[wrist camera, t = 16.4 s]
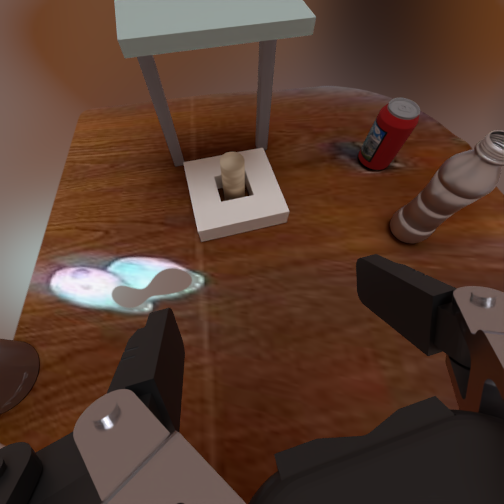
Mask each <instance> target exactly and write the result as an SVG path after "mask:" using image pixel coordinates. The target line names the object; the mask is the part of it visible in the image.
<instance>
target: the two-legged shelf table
mask: <svg viewBox="0 0 504 504" xmlns="http://www.w3.org/2000/svg"><path fill="white" fill-rule="evenodd" d="M114 1H115V13H116V25H117V37H118V42H119V44H120V47H121V50H122V52H123V55H124V57H125V58H131V57H137V58H138V61H139V64H140V67H141V70H142V73H143V76H144V78H145V81H146V84H147V87H148V90H149V93H150V96H151V99H152V101H153V104H154V107H155V110H156V113H157V116H158V119H159V121H160V124H161V127H162V130H163V133H164V136H165V139H166V142H167V144H168V147H169V150H170V153H171V156H172V159H173V162H174V164H175V167H176V166H181V165H184V164H183V162H184V159H183V155H182V152H181V148H180V145H179V142H178V138H177V135H176V132H175V128H174V125H173V121H172V118H171V115H170V111H169V108H168V105H167V101H166V98H165V95H164V91H163V88H162V85H161V81H160V78H159V75H158V71H157V68H156V64H155V61H154V58H153V55H155V54H163V53H171V52H179V51H187V50H195V49H203V48H211V47H219V46H227V45H235V44H243V43H251V42H259V66H258V92H257V119H256V147H257V149H258V148H263V149H264V150H267V141H268V130H269V119H270V108H271V97H272V85H273V74H274V63H275V52H276V51H275V50H276V41H277V39H283V38H291V37H299V36H307V35H313V31H314V25H315V20H316V16H315V15H314V14H313V13H312V11H311V10H310V9H309V8H308V6H307V5H306V4H305V3H304V1H303V0H114Z"/></svg>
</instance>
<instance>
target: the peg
mask: <svg viewBox="0 0 504 504" xmlns="http://www.w3.org/2000/svg"><path fill="white" fill-rule="evenodd" d="M220 168H221V176H222V183H223V191H224V199H225V201H228V200H232V199H237V198H242V197H245V160H244V157H243V156H242V155H241V154H240V153H237V152H227V153H225V154H223V155H222V156H221V158H220Z"/></svg>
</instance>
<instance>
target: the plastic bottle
mask: <svg viewBox="0 0 504 504" xmlns="http://www.w3.org/2000/svg"><path fill="white" fill-rule="evenodd" d="M502 166H504V131H502V130H495V131H491V132H490V133H489V134H487V136H486V137H485V138H484V139H483V140H481V141H479V142H478V143H477V144H476V146H475V148H474V150H470V151H465V152H462V153H459V154H456V155H454V156H452V157H451V158H449V159H447V160H446V161H445V162H444V163H443V164H442V166H441V167H440V168H439V170H438V171H437V172H436V174H435V175H434V177H433V178H432V179H431V181H430V182H429V183H428V184H427V186H426V187H425V188H424V189H423V190H422V191H421V192H420V194H419V195H418V196H417V197H415V198H414V199H413V200H412V201H411V202H409V203H408V204H407V205H405V206H403V207H402V208H400V209H399V210H398V211H397V212H395V214H394V215H393V217H392V218H391V220H390V229H391V232H392V234H393V235H394V236H395V237H396V238H397V239H398V240H400V241H402V242H405V243H412V244H413V243H419V242H421V241H423V240H425V239H427V238H428V237H429V236H430V235H431V234H432V233H433V232H434V231H435V230H436V228H437V227H438V226H439V225H440V224H441V223H443V222H444V221H445V220H446V219H447V218H448V217H450V216H451V215H453V214H454V213H456V212H457V211H459V210H460V209H462V208H463V207H465V206H467V205H469V204H470V203H472V202H474V201H476V200H478V199H480V198H482V197H483V196H485V195H487V194H488V193H490V192H491V191H492V190H493V189H494V188H495V186H496V185H497V183H498V181H499V178H500V174H501V167H502Z"/></svg>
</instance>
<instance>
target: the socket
mask: <svg viewBox="0 0 504 504" xmlns="http://www.w3.org/2000/svg"><path fill="white" fill-rule="evenodd" d="M237 153H240V154H241V155H242V156H243V157H244V160H245V184H246V187H247V190H248V192H249V195H250V196H246V197H242V198H237V199H232V200H228V201H223V202H221V200H220V196H219V193H218V189H219V188H223V183H222V176H221V168H220V158H221V156H222V155H220V156H215V157H209V158H204V159H198V160H193V161H188V162H183V164H184V169H185V173H186V178H187V183H188V188H189V192H190V197H191V202H192V206H193V211H194V216H195V220H196V225H197V230H198V233H199V236H200V239H201V242H203V241H208V240H212V239H216V238H221V237H225V236H229V235H234V234H238V233H242V232H247V231H251V230H255V229H260V228H264V227H268V226H273V225H277V224H281V223H286V222H287V218H288V215H289V209H288V207H287V204H286V202H285V200H284V197H283V195H282V192H281V190H280V188H279V185H278V183H277V180H276V178H275V176H274V173H273V171H272V168H271V166H270V163H269V161H268V159H267V156H266V154H265V151H264V149H263V148H258V149H252V150H247V151H242V152H237Z"/></svg>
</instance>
